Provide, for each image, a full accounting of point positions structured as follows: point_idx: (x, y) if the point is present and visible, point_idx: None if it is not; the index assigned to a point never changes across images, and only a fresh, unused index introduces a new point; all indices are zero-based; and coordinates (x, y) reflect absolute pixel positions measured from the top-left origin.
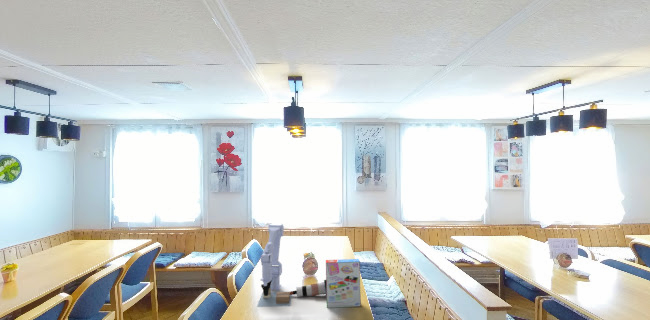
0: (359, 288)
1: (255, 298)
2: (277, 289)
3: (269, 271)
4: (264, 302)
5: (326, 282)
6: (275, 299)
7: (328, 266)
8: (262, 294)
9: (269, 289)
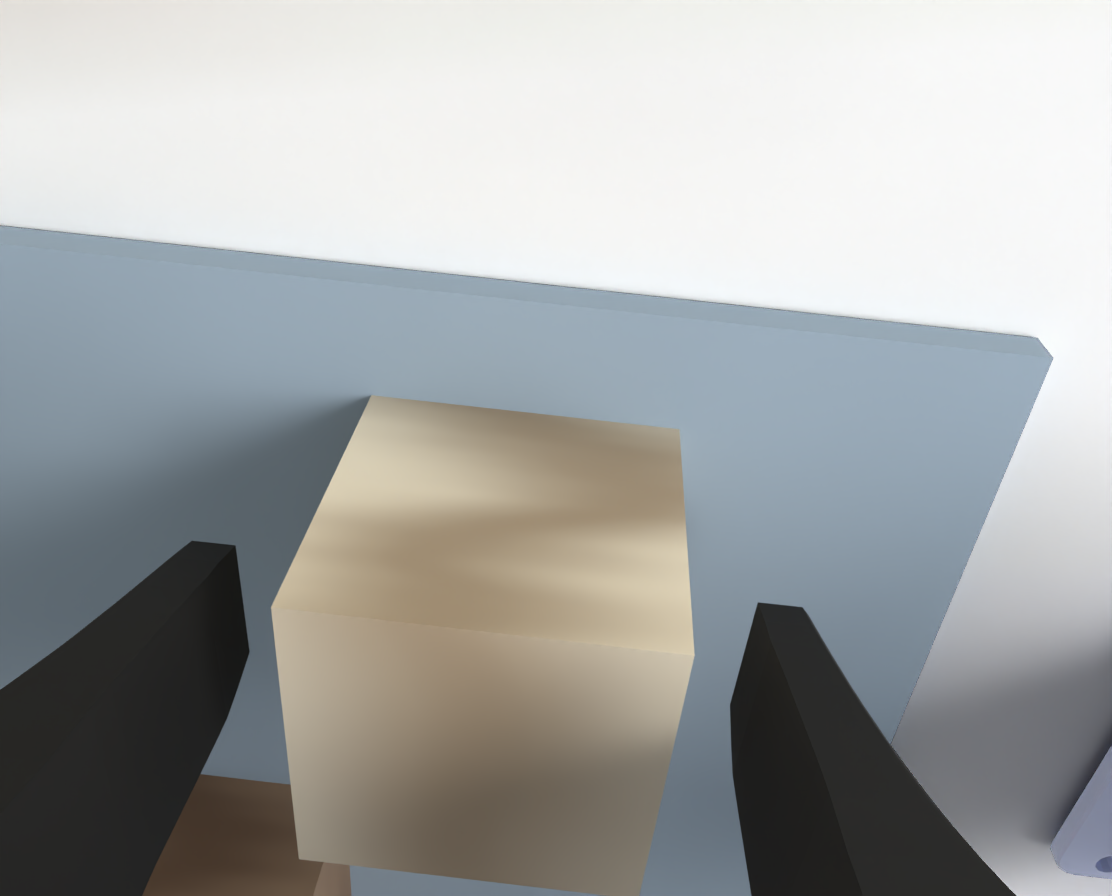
0: None
1: (481, 25)
2: (1109, 828)
3: None
4: None
5: None
6: (242, 746)
7: None
8: (790, 364)
9: (473, 849)
